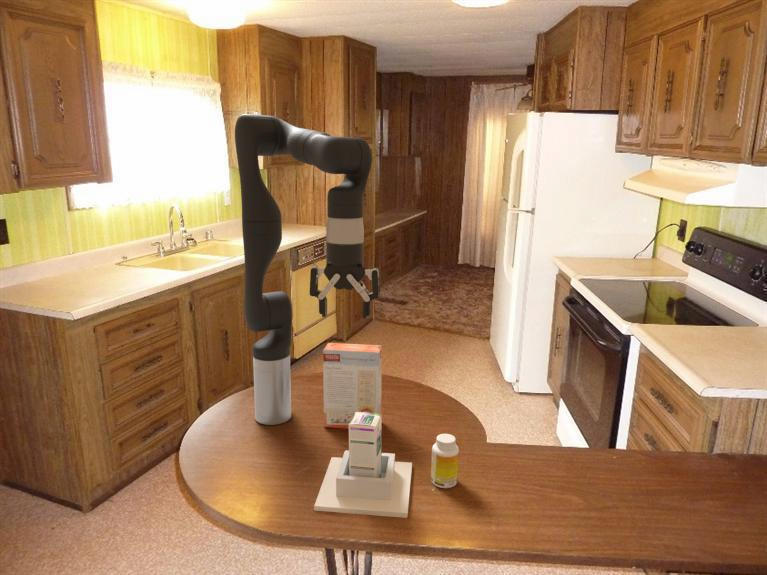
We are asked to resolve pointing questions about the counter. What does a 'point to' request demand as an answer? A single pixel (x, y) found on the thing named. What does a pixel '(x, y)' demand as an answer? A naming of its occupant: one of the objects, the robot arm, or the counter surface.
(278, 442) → the counter surface
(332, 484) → the sleeve holder
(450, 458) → the supplement bottle
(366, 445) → the syrup box
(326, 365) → the cracker box
